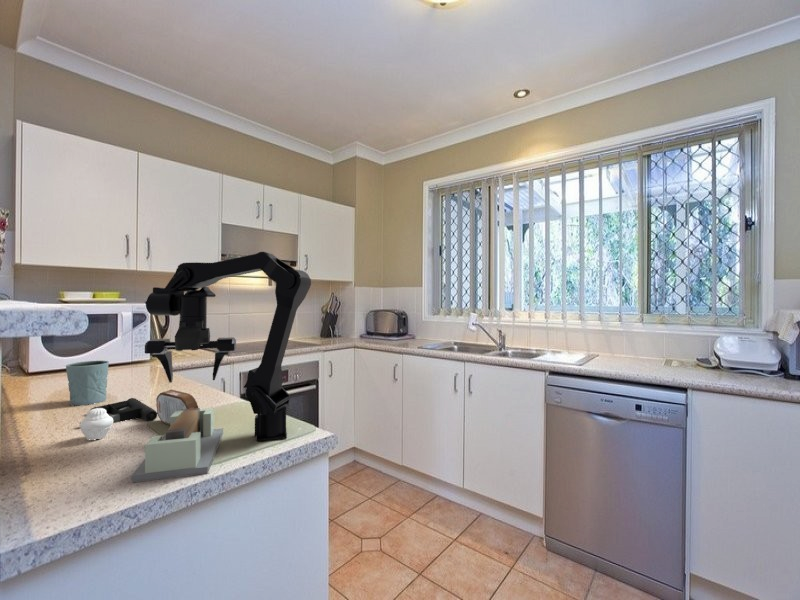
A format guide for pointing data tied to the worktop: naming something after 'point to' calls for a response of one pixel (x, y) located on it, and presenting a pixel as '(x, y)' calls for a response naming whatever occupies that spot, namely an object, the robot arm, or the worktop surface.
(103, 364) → the teal plant pot
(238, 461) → the worktop surface
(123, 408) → the door handle
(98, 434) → the muffin
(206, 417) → the post frame
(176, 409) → the tin
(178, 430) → the rail
